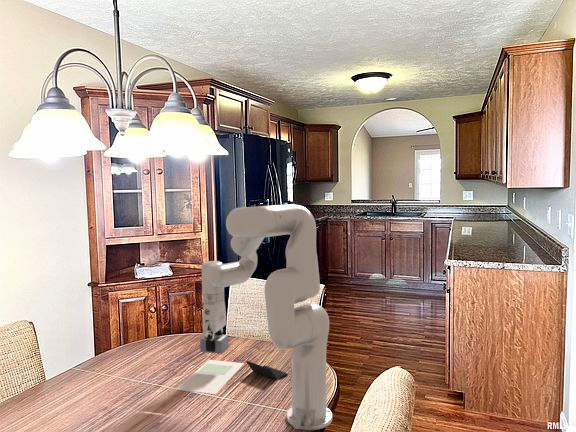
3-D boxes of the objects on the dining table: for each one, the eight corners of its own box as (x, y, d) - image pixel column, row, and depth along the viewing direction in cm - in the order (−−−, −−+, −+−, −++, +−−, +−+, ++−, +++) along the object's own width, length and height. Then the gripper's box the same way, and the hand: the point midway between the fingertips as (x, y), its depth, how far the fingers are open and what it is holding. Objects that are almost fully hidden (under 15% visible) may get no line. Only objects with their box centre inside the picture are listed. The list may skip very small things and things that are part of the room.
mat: (215, 395, 133) (215, 393, 133) (175, 390, 137) (175, 388, 137) (244, 364, 156) (244, 363, 156) (208, 360, 160) (208, 359, 160)
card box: (200, 351, 150) (200, 338, 149) (207, 345, 155) (207, 333, 155) (221, 353, 148) (221, 340, 147) (228, 347, 153) (228, 335, 153)
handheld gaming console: (290, 368, 148) (277, 351, 143) (283, 388, 143) (270, 371, 138) (263, 366, 154) (250, 350, 149) (255, 385, 150) (241, 369, 144)
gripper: (212, 304, 141) (213, 358, 142) (233, 291, 157) (234, 340, 159) (191, 302, 143) (193, 356, 144) (214, 290, 159) (215, 338, 161)
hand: (214, 347), depth 151 cm, fingers closed on card box, 5 cm apart
